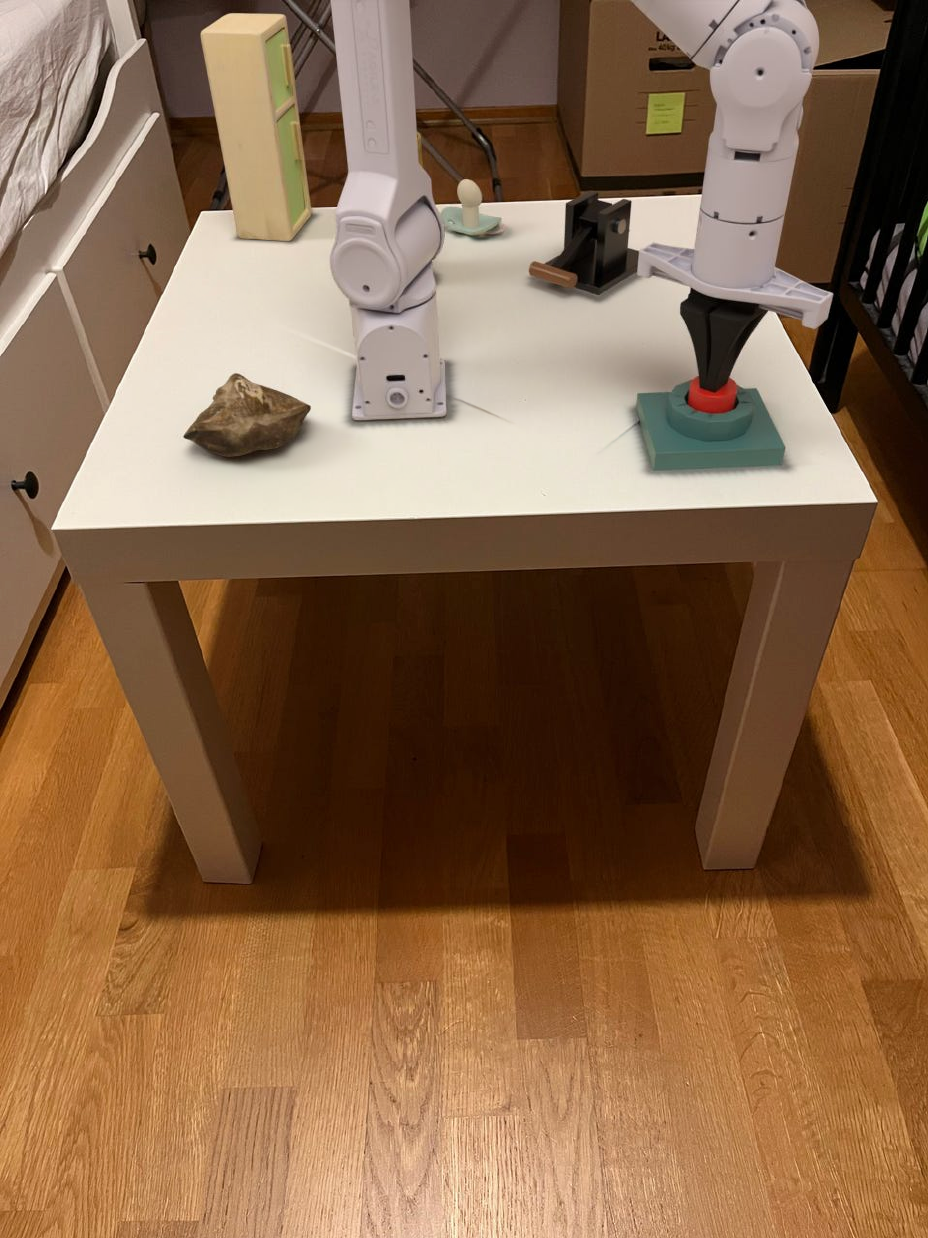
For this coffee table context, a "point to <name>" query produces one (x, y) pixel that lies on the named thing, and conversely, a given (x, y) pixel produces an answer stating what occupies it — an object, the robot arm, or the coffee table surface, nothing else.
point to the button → (712, 397)
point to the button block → (707, 432)
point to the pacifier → (470, 213)
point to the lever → (571, 249)
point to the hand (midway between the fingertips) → (713, 385)
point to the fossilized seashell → (247, 419)
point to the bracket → (601, 245)
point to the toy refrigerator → (258, 123)
